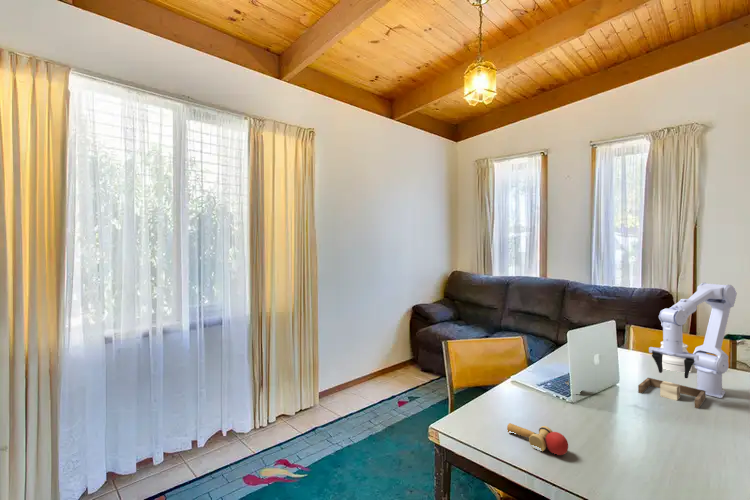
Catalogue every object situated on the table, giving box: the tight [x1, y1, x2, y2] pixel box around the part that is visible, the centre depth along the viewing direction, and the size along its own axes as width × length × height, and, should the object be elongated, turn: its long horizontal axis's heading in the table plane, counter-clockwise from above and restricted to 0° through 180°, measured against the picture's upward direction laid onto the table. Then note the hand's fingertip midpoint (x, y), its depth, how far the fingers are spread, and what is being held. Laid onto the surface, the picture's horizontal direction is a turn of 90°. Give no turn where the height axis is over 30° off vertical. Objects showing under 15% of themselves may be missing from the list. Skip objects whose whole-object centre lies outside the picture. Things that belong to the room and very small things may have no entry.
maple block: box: [659, 380, 681, 401], centre depth 136 cm, size 5×5×5 cm
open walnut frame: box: [637, 377, 707, 409], centre depth 137 cm, size 13×18×3 cm
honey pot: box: [659, 340, 693, 373], centre depth 166 cm, size 13×13×18 cm
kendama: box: [506, 422, 569, 456], centre depth 105 cm, size 8×6×18 cm
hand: (673, 374), depth 134 cm, fingers open, 7 cm apart
